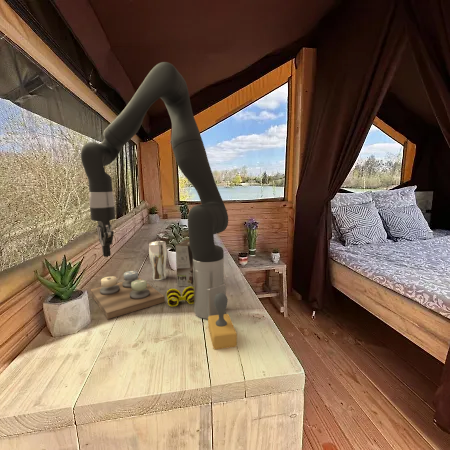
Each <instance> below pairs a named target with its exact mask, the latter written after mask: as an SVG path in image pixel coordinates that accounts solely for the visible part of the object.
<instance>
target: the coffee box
mask: <svg viewBox="0 0 450 450" xmlns="http://www.w3.org/2000/svg"><path fill="white" fill-rule="evenodd" d="M175 266H176V286H177V287H184V288H187V287H189V286H192V287H194V284H193V255H192V251H191V249H190V244H189V240H183V241H181V242H179V243H178V244H176V245H175Z"/></svg>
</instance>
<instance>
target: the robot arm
mask: <svg viewBox="0 0 450 450" xmlns="http://www.w3.org/2000/svg"><path fill="white" fill-rule="evenodd" d="M159 99H161V101H162V102H163V103H164V105H165V107H166V109H167V113H168V115H169V118H170V122H171V133H170V135H171V136H170V137H171V140H170V142H171V148H172V152H173V155H174V159H175V161H176V165H177V166H178V169H179V170H180V172H181V173H182V174H183V175H184V177H185V178H186V179H187V181H188V182H190V184H191V185H192V186H193V188H194V190H195V191H196V193H197V195H198V197H199V200H200V204H197V205H195V206H192V207H191V208H190V210H189V211H188V212H189V213H188V215H187V231H188V241H189V244H190V249H191V251H192V255H193V284H194V285H193V287H194V304H193V309H194V314H195V316H196V317H198V318H201V319H204V320H205V319H207V320H208V317H209V316H213V315H218V312H217V310H216V308H215V305H214V299H215V296H216V295H217V294H218V293H224V294H225V295H226V296H227V285H226V284H225V268H224V267H225V265H224V264H225V263H224V262H225V257H224V255H225V254H224V252H225V251H224V248H223V247H222V246H220V245H217V244H215V238H214V237H215V236H214V235H216V234H220V233H222V232H224V231H226V229H228V228H227V227H228V224H229V215H228V212H227V211H228V210H227V207H226V206H225V203H224V200H223V199H222V196H221V193H220V191H219V188H218V186H217V183H216V180H215V177H214V175H213V172H212V169H211V164H210V162H209V159H208V154H207V152H206V148H205V145H204V142H203V139H202V136H201V133H200V130H199V127H198V124H197V122H196V119H195V117H194V113H193V108H192V104H191V99H190V93H189V89H188V85H187V82H186V80H185V78H184V77H183V75H182V74H181V73H180V72H179V70H178V69H177V68H176V67H175V66H174V64H172V63H171V62H168V61H161V62H159V63H157V64H156V65H154V66H153V68H152V69H151V70H149V72H148V74H147V75H146V77H145V78H144V80H143V81H142V82H141V84H140V85H139V87H138V89H137V90H136V92H135V93H134V94H133V96H132V98H131V99H130V101H129V102H128V103H127V105H126V106H125V107H124V109H123V110H122V111H121V112H120V113H119V114H118V115H117V116H116V117H115V118H114V119H113V120H112V122H110V124H109V125H108V126H107V127H106V128H105V129H104V131H103V138H104V139H102V141H101V142H100V143H98V142H94V141H88V142H86V143H84V144H83V146H82V147H81V150H80V160H81V165H82V167H83V170H84V172H85V175H86V177H87V180H88V181H87V182H88V183H87V184H88V191H89V192H88V194H89V195H88V197H89V198H88V202H89V212H90V220H91V221H93V222H97V225H96V233H97V237H98V241H99V243H100V246H101V248H102V249H101V250H102V256H103V257H104V258H107V257H111V256H112V255H111V253H112V251H111V245H113V241H114V240H113V239H114V234H115V232H114V231H113V226H112V224H111V222H110V221H114V220H115V219H116V207H115V206H116V205H115V198H114V193H113V190H114V189H113V180H112V176H111V175H110V174H108V173H107V172H106V170H105V167H106V166H108V165H110V164H112V163H113V162H114V161H115V160H116V159H117V157H118V155H119V154H120V153H121V151H122V149H123V147H124V146H125V145H126V144H128V142H129V141H130V140H131V139H132V138H133V137H134V136H135V135H136V134H137V133H138V132H139V130H140V128H141V125H142V123H143V122H144V118H145V116H146V115H147V112H148V110H149V109H150V107H152V106H153V104H155V102H157V101H159ZM224 314H227V309H226V310H225V312H224Z"/></svg>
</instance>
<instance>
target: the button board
mask: <svg viewBox="0 0 450 450" xmlns="http://www.w3.org/2000/svg"><path fill="white" fill-rule="evenodd" d="M136 280H143V278H141V277H138V279H136ZM136 280H132V281H126V280H124V281H120V282H117V284H116V285H114V286H111V287H102V286H99V287H95V288H91V289H90V295H91V296H92V298H93V299H94V301H95V302H96V304H97V306H98V307H99V309H100V310H101V311H102V313H103V315H104V316H105V318H106V319H107V320H110V319H113V318H116V317H119V316H123V315H126V314H130V313H133V312H136V311H139V310H143V309H145V308H146V309H147V308H149V307H150V308H151V307H152V306H155V305H159V304H162V303H163V304H164V303H165V296H164V295H163V294H162V293H160V292H159V291H158V290H157V289H156V288H154V287H152V286H151V285H150V284H149V283H147V288H146V289H145V290H142V291H133V290H132V289H131V283H132V282H133V281H136Z"/></svg>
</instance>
